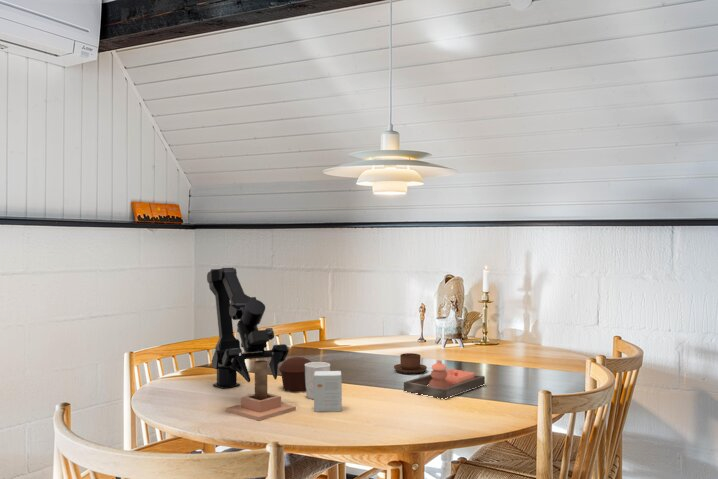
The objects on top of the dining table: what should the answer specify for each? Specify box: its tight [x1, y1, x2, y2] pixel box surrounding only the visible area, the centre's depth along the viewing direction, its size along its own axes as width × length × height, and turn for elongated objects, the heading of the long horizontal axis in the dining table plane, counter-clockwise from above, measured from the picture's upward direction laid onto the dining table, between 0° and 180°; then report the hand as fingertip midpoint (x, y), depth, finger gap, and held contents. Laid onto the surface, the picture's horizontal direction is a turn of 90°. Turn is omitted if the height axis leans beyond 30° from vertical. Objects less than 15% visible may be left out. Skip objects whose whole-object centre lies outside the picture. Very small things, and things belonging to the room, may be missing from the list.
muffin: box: [278, 356, 312, 393], centre depth 216 cm, size 12×11×10 cm
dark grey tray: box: [403, 369, 486, 400], centre depth 217 cm, size 15×24×3 cm, turn 139°
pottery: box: [428, 360, 476, 389], centre depth 218 cm, size 18×10×10 cm, turn 139°
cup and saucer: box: [393, 352, 428, 374], centre depth 242 cm, size 12×12×6 cm
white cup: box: [305, 361, 331, 400], centre depth 206 cm, size 8×8×10 cm
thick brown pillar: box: [254, 360, 268, 400], centre depth 190 cm, size 4×4×13 cm
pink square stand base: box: [225, 392, 297, 421], centre depth 190 cm, size 14×14×4 cm
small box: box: [313, 370, 343, 412], centre depth 192 cm, size 8×6×10 cm
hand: (262, 380), depth 188 cm, fingers open, 8 cm apart
